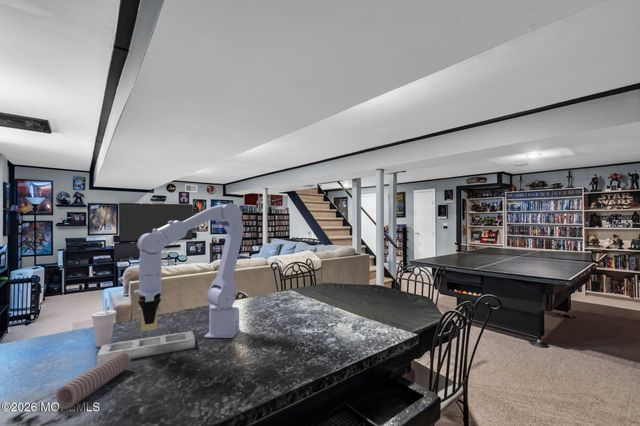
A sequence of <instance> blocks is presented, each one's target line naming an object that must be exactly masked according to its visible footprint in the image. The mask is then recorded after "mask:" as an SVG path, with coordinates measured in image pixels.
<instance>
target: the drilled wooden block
mask: <svg viewBox="0 0 640 426" xmlns="http://www.w3.org/2000/svg"><path fill="white" fill-rule="evenodd" d="M158 312H161V305H158V307H157V311H156V316H155V320H154V323H153V324H145V321H144V316H143V311H142V308H141V307H138V308H137V314H140V332H146V331H150V330H157V329H158Z"/></svg>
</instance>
